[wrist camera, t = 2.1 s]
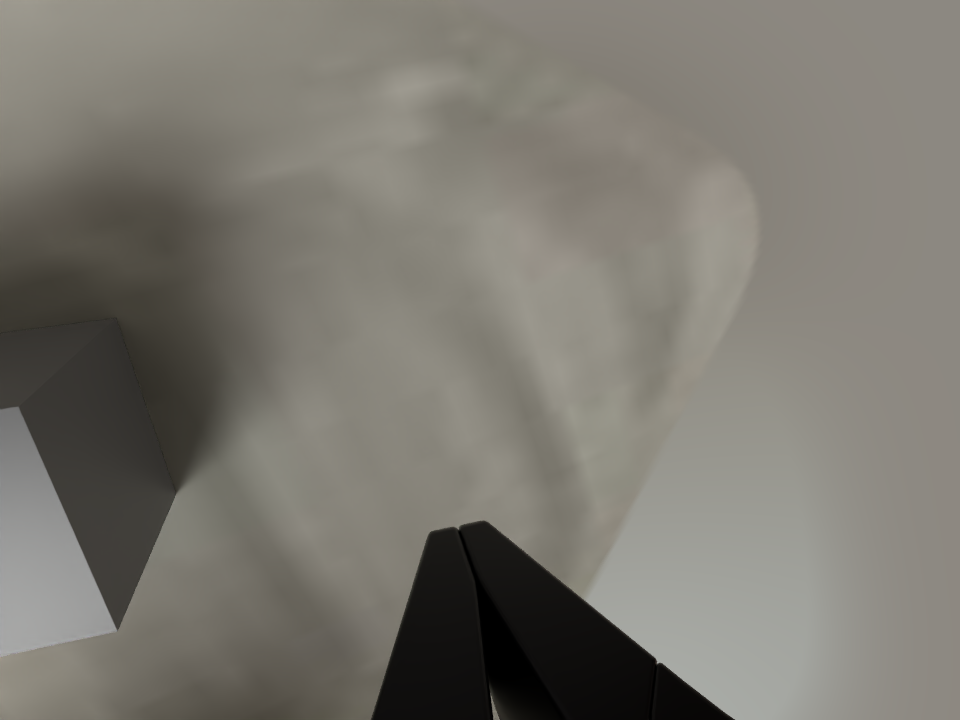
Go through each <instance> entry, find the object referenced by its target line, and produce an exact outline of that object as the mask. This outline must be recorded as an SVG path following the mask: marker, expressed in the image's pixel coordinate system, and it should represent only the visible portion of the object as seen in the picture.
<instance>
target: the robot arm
mask: <svg viewBox="0 0 960 720" xmlns="http://www.w3.org/2000/svg"><path fill="white" fill-rule="evenodd" d="M490 692H491V695H490ZM491 696H492V699H493V702H494V705H495V707H496V710H497V713H498V716H499V719H500V720H734V719H733V718H732V717H730V716H729V715H727V714H726V713H725V712H723V711H722V710H720V709H719V708H718V707H717V706H715V705H714V704H713V703H712V702H710V701H709V700H708V699H706V698H705V697H704V696H702V695H701V694H700V693H699V692H697V691H696V690H695V689H693V688H692V687H691V686H689V685H688V684H687V683H686V682H684V681H683V680H682V679H681V678H679V677H678V676H677V675H676V674H674V673H673V672H672V671H671V670H670V669H668V668H667V667H666V666H665V665H663V664H662V663H658V664H657V661H656V659H655V658H654V657H653V656H652V655H651V654H649V653H648V652H647V651H646V650H645V649H643V648H642V647H641V646H640V645H638V644H637V643H636V642H635V641H634V640H632V639H631V638H630V637H629V636H627V635H626V634H625V633H624V632H622V631H621V630H620V629H619V628H618V627H616V626H615V625H614V624H613V623H611V622H610V621H609V620H608V619H606V618H605V617H604V616H603V615H602V614H600V613H599V612H598V611H597V610H595V609H594V608H593V607H592V606H591V605H589V604H588V603H587V602H586V601H584V600H583V599H582V598H581V597H579V596H578V595H577V594H576V593H575V592H573V591H572V590H571V589H570V588H568V587H567V586H566V585H565V584H563V583H562V582H561V581H560V580H559V579H557V578H556V577H555V576H554V575H552V574H551V573H550V572H549V571H547V570H546V569H545V568H544V567H543V566H541V565H540V564H539V563H538V562H536V561H535V560H534V559H533V558H531V557H530V556H529V555H528V554H527V553H525V552H524V551H523V550H522V549H520V548H519V547H518V546H517V545H515V544H514V543H513V542H512V541H511V540H509V539H508V538H507V537H506V536H504V535H503V534H502V533H501V532H499V531H498V530H497V529H496V528H495V527H493V526H492V525H491V524H490V523H488V522H486V521H478V522H473V523H468V524H464V525H461V526H460V527H459V530H458V529H457V528H455V527H449V528H444V529H440V530H435V531H431V532H430V533H429V535H428V537H427V540H426V543H425V547H424V550H423V553H422V556H421V560H420V563H419V566H418V569H417V573H416V576H415V579H414V582H413V585H412V589H411V592H410V595H409V598H408V602H407V605H406V608H405V611H404V615H403V618H402V621H401V624H400V628H399V631H398V634H397V637H396V641H395V644H394V647H393V650H392V653H391V657H390V660H389V663H388V666H387V670H386V673H385V676H384V679H383V683H382V686H381V689H380V692H379V696H378V699H377V702H376V705H375V709H374V712H373V715H372V718H371V720H493V713H492V704H491Z"/></svg>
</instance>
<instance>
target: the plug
mask: <svg viewBox="0 0 960 720" xmlns="http://www.w3.org/2000/svg"><path fill="white" fill-rule="evenodd" d="M175 495H176V492H175V489H174V487H173V484H172V481H171V478H170V475H169V472H168V469H167V466H166V463H165V460H164V457H163V454H162V451H161V448H160V445H159V443H158V440H157V437H156V434H155V431H154V428H153V425H152V422H151V419H150V416H149V413H148V410H147V407H146V404H145V401H144V399H143V396H142V393H141V390H140V387H139V384H138V381H137V378H136V375H135V372H134V369H133V366H132V363H131V360H130V357H129V355H128V352H127V349H126V346H125V343H124V340H123V337H122V334H121V331H120V328H119V325H118V322H117V319H116V318H112V319H104V320H96V321H89V322H81V323H73V324H66V325H58V326H50V327H43V328H35V329H27V330H20V331H12V332H4V333H0V657H2V656H6V655H11V654H16V653H20V652H25V651H29V650H34V649H39V648H43V647H48V646H53V645H57V644H62V643H66V642H71V641H76V640H80V639H85V638H89V637H94V636H99V635H103V634H108V633H112V632H117V631H118V629H119V627H120V624H121V622H122V619H123V617H124V615H125V612H126V610H127V608H128V605H129V603H130V601H131V598H132V596H133V594H134V591H135V589H136V587H137V584H138V582H139V580H140V577H141V575H142V573H143V570H144V568H145V566H146V563H147V561H148V559H149V556H150V554H151V552H152V549H153V547H154V545H155V542H156V540H157V538H158V535H159V533H160V531H161V528H162V526H163V523H164V521H165V519H166V516H167V514H168V512H169V509H170V507H171V505H172V502H173V500H174V498H175Z"/></svg>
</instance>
